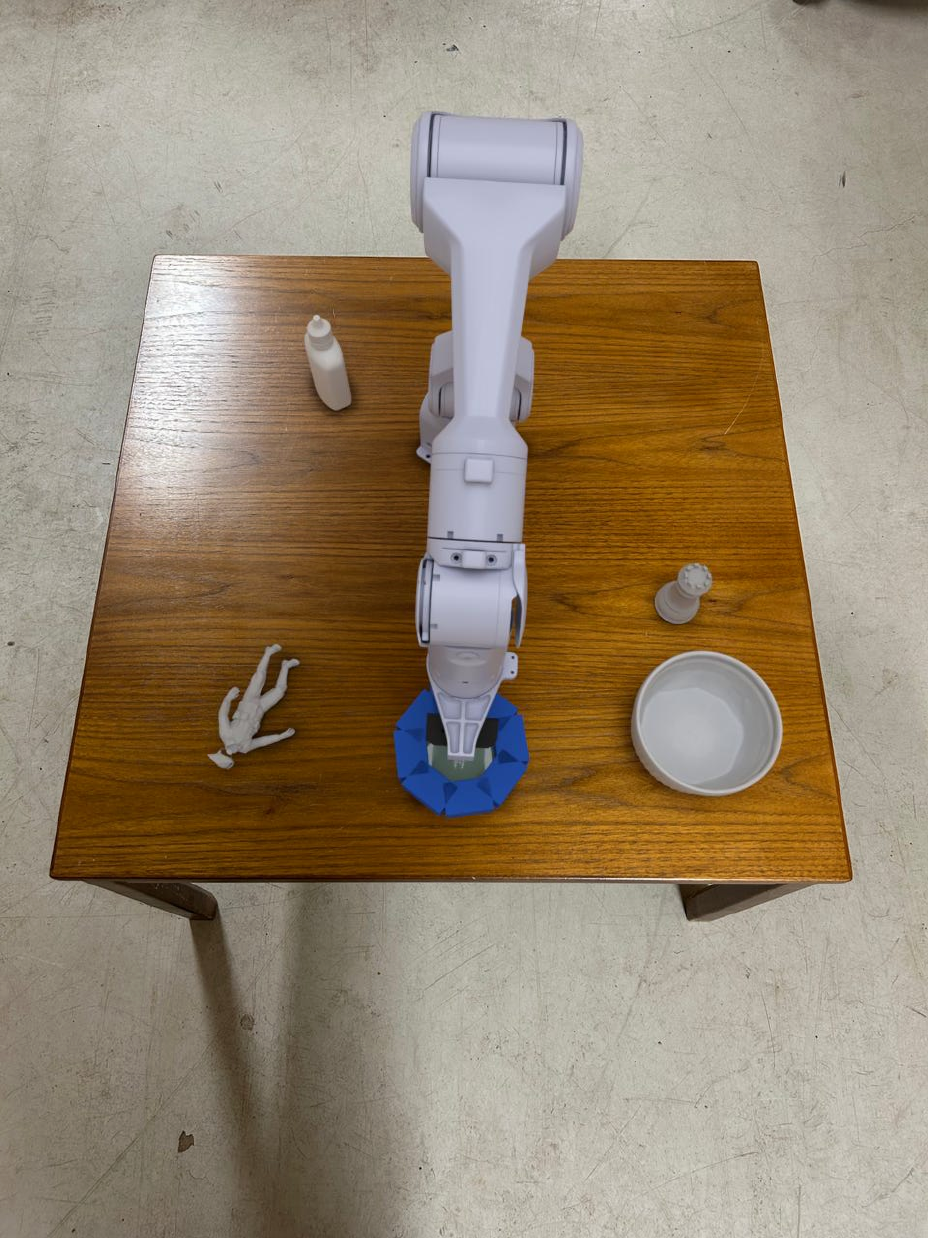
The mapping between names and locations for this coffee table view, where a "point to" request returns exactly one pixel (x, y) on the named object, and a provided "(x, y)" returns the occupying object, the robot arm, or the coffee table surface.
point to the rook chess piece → (683, 594)
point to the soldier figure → (251, 712)
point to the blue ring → (463, 793)
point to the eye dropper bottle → (327, 364)
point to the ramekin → (706, 724)
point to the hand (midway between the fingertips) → (463, 691)
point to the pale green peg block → (459, 763)
